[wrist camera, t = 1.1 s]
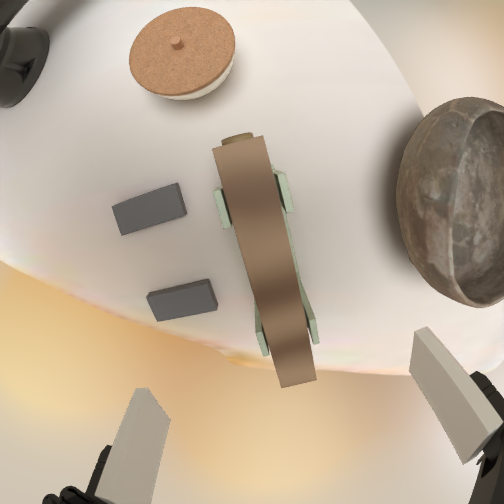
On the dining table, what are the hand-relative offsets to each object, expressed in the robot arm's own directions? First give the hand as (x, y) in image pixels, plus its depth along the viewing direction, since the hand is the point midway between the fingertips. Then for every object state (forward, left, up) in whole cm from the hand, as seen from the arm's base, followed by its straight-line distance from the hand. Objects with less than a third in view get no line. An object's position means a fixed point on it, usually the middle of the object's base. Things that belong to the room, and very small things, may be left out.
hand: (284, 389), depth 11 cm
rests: (-1, -13, -24) cm, 27 cm away
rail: (0, 0, -15) cm, 15 cm away
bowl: (-1, +26, -24) cm, 36 cm away
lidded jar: (-23, -3, -24) cm, 34 cm away
